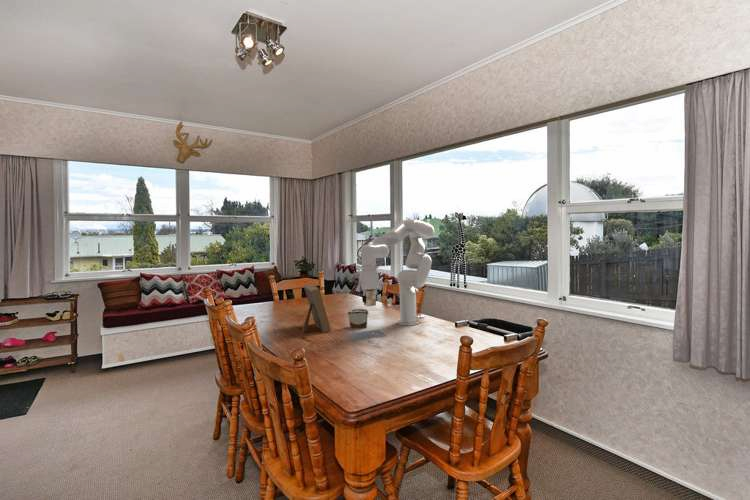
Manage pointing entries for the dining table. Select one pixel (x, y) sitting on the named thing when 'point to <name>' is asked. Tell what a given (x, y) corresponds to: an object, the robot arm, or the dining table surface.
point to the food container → (358, 318)
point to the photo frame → (316, 308)
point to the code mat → (365, 335)
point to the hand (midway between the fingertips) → (369, 301)
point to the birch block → (370, 298)
